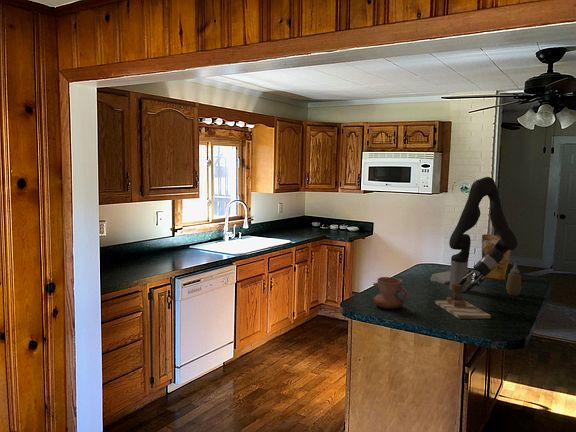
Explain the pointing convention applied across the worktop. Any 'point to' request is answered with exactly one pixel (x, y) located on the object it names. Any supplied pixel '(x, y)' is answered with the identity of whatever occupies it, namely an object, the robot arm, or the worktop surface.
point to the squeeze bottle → (514, 281)
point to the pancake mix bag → (501, 267)
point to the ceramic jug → (389, 293)
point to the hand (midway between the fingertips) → (463, 287)
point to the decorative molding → (441, 277)
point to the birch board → (463, 310)
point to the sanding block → (456, 296)
